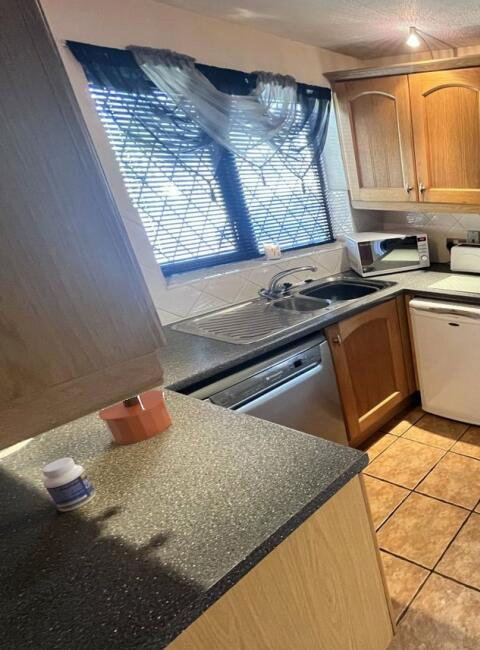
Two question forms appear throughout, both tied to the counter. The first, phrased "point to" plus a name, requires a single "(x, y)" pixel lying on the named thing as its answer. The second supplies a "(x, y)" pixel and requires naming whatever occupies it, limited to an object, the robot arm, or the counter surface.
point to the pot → (140, 425)
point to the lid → (132, 406)
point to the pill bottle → (67, 484)
